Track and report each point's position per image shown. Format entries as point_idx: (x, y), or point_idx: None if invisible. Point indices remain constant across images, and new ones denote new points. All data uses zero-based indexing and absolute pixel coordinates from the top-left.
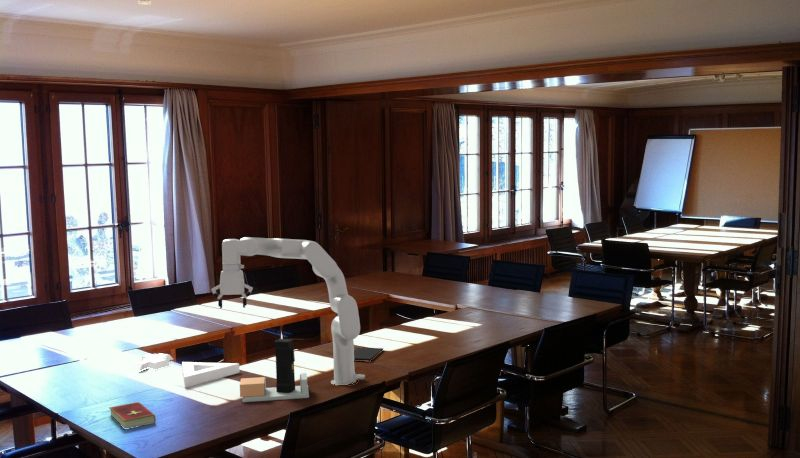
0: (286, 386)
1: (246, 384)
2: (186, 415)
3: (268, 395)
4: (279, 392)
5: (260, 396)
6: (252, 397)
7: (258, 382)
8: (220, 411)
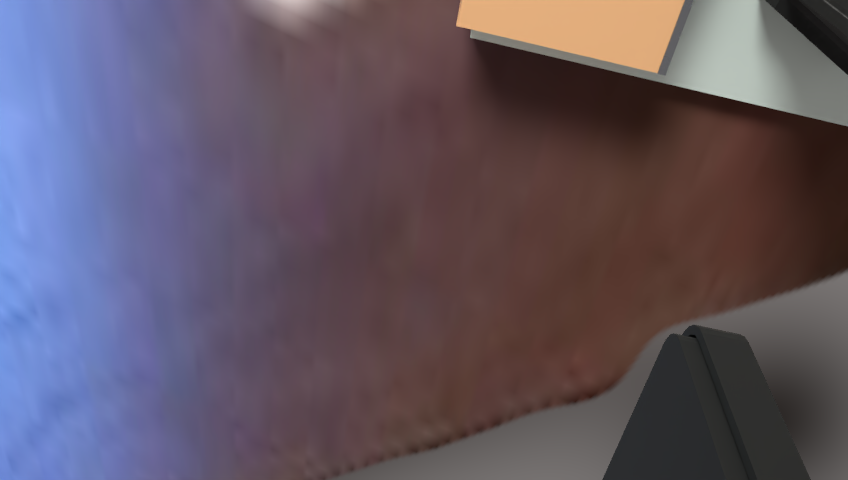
0: (837, 65)
1: (512, 37)
2: (103, 143)
3: None
4: None
5: None
6: None
7: (622, 26)
8: (306, 160)
